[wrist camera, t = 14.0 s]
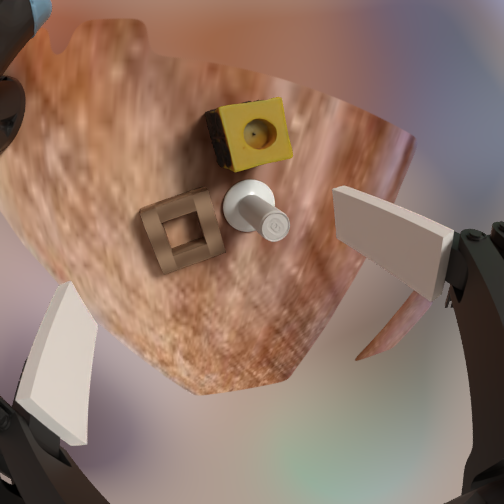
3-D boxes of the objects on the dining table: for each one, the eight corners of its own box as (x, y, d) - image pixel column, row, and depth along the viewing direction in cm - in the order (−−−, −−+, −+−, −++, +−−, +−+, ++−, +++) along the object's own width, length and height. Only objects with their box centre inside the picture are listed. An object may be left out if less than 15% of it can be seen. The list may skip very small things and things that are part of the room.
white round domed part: (216, 188, 48) (217, 188, 47) (267, 173, 50) (269, 173, 49) (230, 237, 52) (231, 238, 52) (277, 221, 54) (278, 222, 54)
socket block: (140, 208, 44) (139, 213, 41) (204, 186, 47) (208, 189, 44) (162, 266, 50) (163, 274, 47) (221, 245, 52) (226, 252, 49)
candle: (203, 112, 41) (215, 105, 33) (258, 101, 43) (282, 94, 35) (217, 166, 46) (232, 174, 38) (269, 153, 48) (294, 157, 40)
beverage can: (249, 188, 49) (276, 205, 38) (266, 204, 51) (296, 224, 41) (232, 208, 49) (254, 230, 39) (250, 223, 52) (276, 248, 41)
